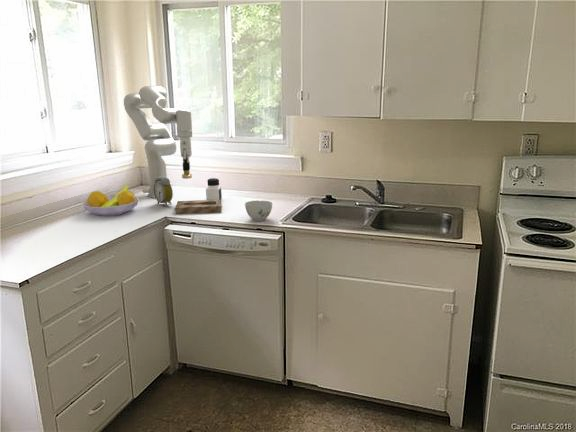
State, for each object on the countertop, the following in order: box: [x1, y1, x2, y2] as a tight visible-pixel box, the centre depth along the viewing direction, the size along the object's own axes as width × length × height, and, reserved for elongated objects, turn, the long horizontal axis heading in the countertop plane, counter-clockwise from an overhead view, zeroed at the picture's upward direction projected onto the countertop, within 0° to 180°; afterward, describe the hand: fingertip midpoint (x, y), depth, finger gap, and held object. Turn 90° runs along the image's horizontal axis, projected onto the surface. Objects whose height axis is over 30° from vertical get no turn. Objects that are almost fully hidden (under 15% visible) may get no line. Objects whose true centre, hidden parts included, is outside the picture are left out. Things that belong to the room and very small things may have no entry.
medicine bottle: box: [205, 177, 223, 201], centre depth 257 cm, size 7×7×12 cm
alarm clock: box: [154, 176, 174, 208], centre depth 248 cm, size 12×7×15 cm, turn 41°
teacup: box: [244, 200, 273, 222], centre depth 221 cm, size 15×12×8 cm
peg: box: [181, 156, 193, 179], centre depth 249 cm, size 5×5×12 cm
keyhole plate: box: [174, 199, 222, 215], centre depth 239 cm, size 22×14×3 cm, turn 97°
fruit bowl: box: [81, 183, 139, 217], centre depth 236 cm, size 28×27×11 cm
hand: (186, 169), depth 249 cm, fingers closed on peg, 3 cm apart
